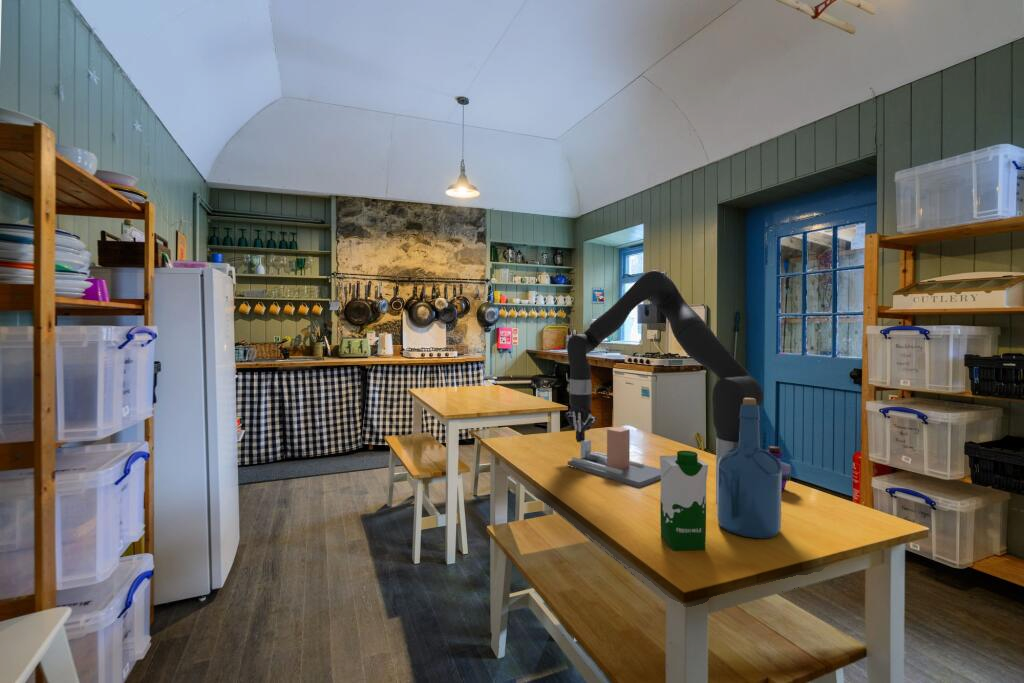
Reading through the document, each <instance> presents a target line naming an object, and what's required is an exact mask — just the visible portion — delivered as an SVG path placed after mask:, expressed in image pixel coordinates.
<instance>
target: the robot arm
mask: <svg viewBox="0 0 1024 683" xmlns="http://www.w3.org/2000/svg"><path fill="white" fill-rule="evenodd" d="M646 300H647V301H649V302H650V303H652V304H653V305H654V306H655V307H656V308H657V309H658V310H659V311H660V312H661V313H662V314H663V316H664V317H665V318H666V319H667V320H668V322H669V325H670V328H671V332H672V334H673V336H674V338H675V340H676V342H678V344H679V345H680V347H681V348H682V349H683V351H684V352H685V353H686V355H688V357H690V358H692V360H694V362H695V361H696V362H697V363H698V364H700V365H701V366H703V367H705V368H706V369H707V370H708V371H711V372H712V373H713V374H714V375H715V376H716V377H717V378H718V381H716V382H715V383H714V386H713V389H712V397H711V398H712V399H711V400H712V420H713V421H712V422H713V426H714V429H715V433H716V437H715V438H716V441H715V442H716V448H715V449H716V450H715V452H716V453H715V454H716V455H715V458H716V459H715V503H716V504H717V476H718V460H719V458H720V457H721V455H723V454H724V453H726V452H727V451H730V450H732V449H735V448H736V447H737V446H738V443H739V425H740V418H739V413H740V406H741V404H742V403H743V399H744V398H754V399H756V404H757V405H758V406H759V408H760V407H761V406H762V405H763V402H764V391H763V389H762V386H761V385H760V383H759V382H758V381H757V380H756V378H754V376H753V375H751V373H749V371H748V370H746V369H745V368H744V367H743V366H742V365H741V363H739V362H738V361H737V360H736V359H735V358H734V357H733V355H732V354H731V353H730V351H729V350H728V349H727V347H725V346H724V344H723V343H722V342H721V341H720V339H718V337H717V336H716V334H715V333H714V332H713V331H712V329H711V328H710V327H709V325H708V324H707V323H706V322H705V321H704V320H703V319H702V318H701V317H700V314H698V313H697V312H696V311H695V310H694V309H693V308H692V307H691V306H690V305H689V304H688V303H687V302H686V300H685V299H684V297H683V296H682V295H681V292H680V290H678V288H677V286H676V284H675V283H674V281H673V280H672V279H671V278H669V277H668V276H667V275H665V274H664V273H662V272H661V271H660V270H656V269H651V270H649V271H647V272H645V273H644V274H642V275H641V276H640V277H639V278H638V279H637V280H635V283H633V285H631V287H630V288H629V289H628V290H627V291H626V292H625V293H624V294H623V295H622V296H621V297H620V298H619V299H618V300H617V302H615V303H614V304H613V305H612V306H611V307H610V308H609V309H607V310H606V311H605V312H603V314H601V315H600V316H599V317H598V318H596V319H595V320H594V321H592V322H591V323H590V324H589V328H588V329H586V331H584V332H582V333H578V334H573V335H571V336H570V337H569V338H568V340H567V344H566V351H567V357H568V362H569V366H570V368H569V369H570V376H569V377H570V380H569V397H568V398H569V403H568V404H569V406H570V408H569V411H568V412H566V413H565V414H564V416H565V418H566V420H567V422H568V424H569V425H570V428H571V429H574V431H575V440H576V442H577V443H580V444H581V440H585V439H586V438H585V437H586V436H585V435H586V433H585V432H586V431H589V430H591V428H592V427H593V426H594V424H595V422H597V417H596V416H593V415H592V410H591V407H592V387H593V386H592V380H591V379H592V369H591V368H592V367H591V363H589V362H588V358H587V354H590V353H591V352H593V351H594V350H595V349H596V348H597V347H598V346H599V345H601V343H603V341H604V340H606V339H607V338H608V337H610V336H611V335H613V334H614V333H615V332H617V331H618V330H619V329H620V328H621V327H622V326H623V325H624V323H625V322H626V320H627V318H628V317H629V315H630V313H632V311H633V310H634V309H635V308H636V307H637V306H639V305H640V304H642V303H643V302H645V301H646Z"/></svg>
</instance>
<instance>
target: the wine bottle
mask: <svg viewBox="0 0 1024 683" xmlns="http://www.w3.org/2000/svg"><path fill="white" fill-rule="evenodd" d="M739 418H740V425H739V443H738V446H737V447H736V448H735V449H732V450H730V451H727V452H726V453H724V454H723V455H721V457H720V458H719V460H718V476H717V503H716V518H717V521H718V524H719V527H721V528H723V529H724V530H726V531H728V532H730V533H732V534H735V535H738V536H742V537H745V538H752V539H753V538H754V539H769V538H774V537H775V536H777V535H778V534H779V533H780V531H781V530H782V492H781V490H782V470H781V464H780V462H781V461H780V462H779V461H778V459H777V458H776V457H775V456H773V455H772V454H771V453H769V452H768V451H766V450H767V449H763V448H761V445H760V444H761V441H760V420H761V418H760V407H759V406H758V405H757V404H756V399H754V398H744V399H743V403H742V404H741V406H740V413H739Z"/></svg>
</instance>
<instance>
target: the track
mask: <svg viewBox="0 0 1024 683" xmlns="http://www.w3.org/2000/svg"><path fill="white" fill-rule="evenodd" d="M592 453H596V454H600V455H604V456H607V453H604V452H598V451H593V452H592ZM568 465H570V466H573V467H576V468H579V469H582V470H585V471H584V472H586V471H588V472H587V473H589V472H591V473H590V474H592V473H594V474H593V475H596V474H597V476H599V475H600V476H599V477H602V476H603V477H602V478H606V479H609V478H610V479H609V480H612V479H613V480H612V481H616V482H619V483H622V482H623V483H622V484H626V485H629V486H632V485H633V486H632V487H636V488H642V487H644V486H647V485H650V484H653V483H655V482H657V481H661V480H660V479H661V470H660V467H659V468H658V467H655V466H651V465H647V464H644V463H643V462H639V461H635V460H630V459H629V467H627V468H624V469H621V470H619V469H615V468H612V467H608V466H607V465H605V463H602V462H598V461H595V460H591V459H587V458H582V457H575V456H573V457H571V460H569V461H567V466H568ZM576 468H575V469H576ZM579 469H578V470H579ZM582 470H581V471H582Z"/></svg>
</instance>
